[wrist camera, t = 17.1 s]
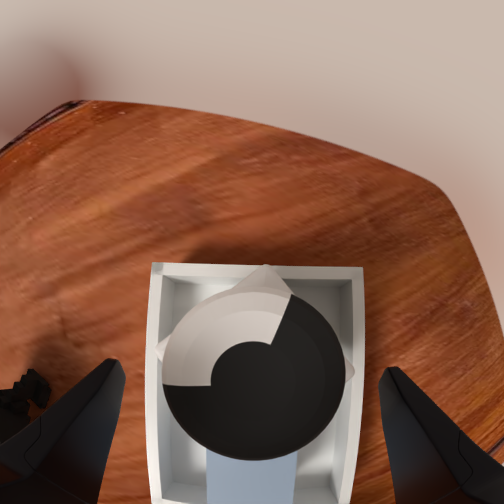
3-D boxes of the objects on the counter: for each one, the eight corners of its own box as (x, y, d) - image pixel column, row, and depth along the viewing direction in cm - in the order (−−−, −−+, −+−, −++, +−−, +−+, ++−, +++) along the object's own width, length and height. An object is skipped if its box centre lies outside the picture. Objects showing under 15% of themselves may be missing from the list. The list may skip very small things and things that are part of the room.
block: (288, 421, 18) (297, 445, 13) (284, 478, 17) (291, 511, 12) (217, 419, 18) (206, 442, 13) (217, 476, 17) (207, 508, 12)
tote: (335, 487, 17) (347, 510, 13) (166, 482, 17) (151, 504, 13) (345, 279, 22) (362, 267, 18) (169, 275, 22) (152, 262, 18)
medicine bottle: (326, 361, 19) (408, 386, 8) (246, 422, 18) (234, 514, 7) (264, 285, 21) (272, 219, 9) (184, 345, 20) (99, 350, 8)
